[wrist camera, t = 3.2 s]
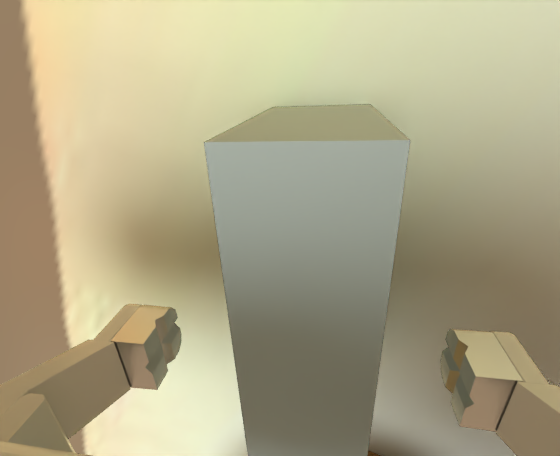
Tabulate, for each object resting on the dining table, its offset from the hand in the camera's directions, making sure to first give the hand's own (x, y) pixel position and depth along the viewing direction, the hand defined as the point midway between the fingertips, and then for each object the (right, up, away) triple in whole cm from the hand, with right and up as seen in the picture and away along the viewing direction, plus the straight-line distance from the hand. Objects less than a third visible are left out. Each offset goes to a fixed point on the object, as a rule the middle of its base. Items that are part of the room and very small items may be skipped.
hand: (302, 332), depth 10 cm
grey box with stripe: (+1, +2, +5) cm, 5 cm away
